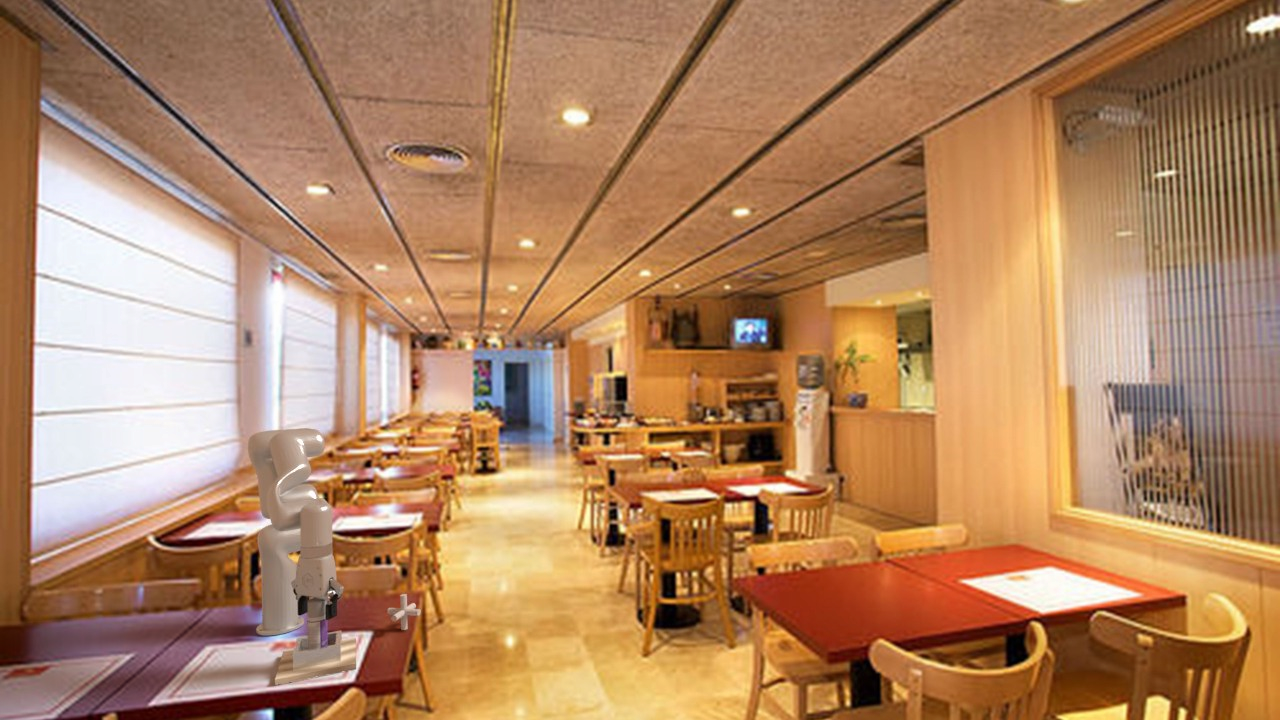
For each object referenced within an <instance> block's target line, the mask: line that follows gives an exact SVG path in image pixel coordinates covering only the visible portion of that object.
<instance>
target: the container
mask: <svg viewBox="0 0 1280 720" xmlns="http://www.w3.org/2000/svg"><path fill="white" fill-rule="evenodd" d="M326 604H327V602H326V600H325V599H324V597H321V598H316V597H311V598H309V600H308V610H307V613H306V614H307V616H306V617H307V618H306V619H307V637H308V649H314V648H319V647H324V646H328V633H329V632H328V620H326V617H325V606H326Z"/></svg>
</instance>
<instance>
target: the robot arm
mask: <svg viewBox="0 0 1280 720" xmlns="http://www.w3.org/2000/svg"><path fill="white" fill-rule="evenodd" d="M325 442H326V441H325V438H324V436H323V434H322V432H321V431H320V430H318V429H317V428H316V429H315V428H307V427H305V428H303V427H302V428H288V429H287V428H286V429H271V430H263V431H259V432H256V433H254V434H252V435H250V437H249V439H248V441H247V453H248V457H249V461H250V463H251V464H252V466H253V469H254V472H255V474H256V477H257V478H256V479H257V485H258V495H259V497H258V498H259V506H260V507H259V508H260V512H261V516H263V518H264V519H267V520H270V524H268V525H266V526H264V527H263V528H262V529H260V530H259V532H258V534H257V540H256V541H257V546H258V551H259V556H260V567H261V570H260V572H261V617H262V618H261V621H262V623H260V624H259V625H258V626H257V627H256V629H255V631H256V632H255V633H256V634H257V635H259V636H277V635H283V634H285V633H286V634H288V633H290V632H294V631H296V630H298V629H299V628H301V627H303V625H305V619H304V617H302V616H303V615H305V614H307V610H308V600H310V598H321V597H324V599H325V600H326V602H327V604H326V606H325V617H326V620H327V621H329V620H332V619H333V618H335V617H337V616H338V602H339V601H340V598H341V597H342V595H343V592H344V589H345V587H344V586H343V584H341V583H339V581H337V580H338V579H337V569H336V568H337V567H336V562H335V558H334V555H333V508H332V506H331V504H330V503H329V502H328V501H327V500H326V499H324V498H321V497H319V493H318V491H317V489H316V487H315V486H313V484H310V483H304V482H306V481H307V480H308V479H309V478H310V476H311V475H312V474H311V473H312V467H311V465H310V462H309V459H308V458H314V457H320V456H322V454H323V453H324V452H325V448H326V443H325ZM303 483H304V484H303ZM296 552H300V556H299V557H298V558H297V559H298V560H297V563H296V562H295V561H294V560H293V559H291V557H290V556H289V554H291V553H296ZM330 596H331V597H330Z"/></svg>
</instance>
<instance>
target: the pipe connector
mask: <svg viewBox="0 0 1280 720" xmlns="http://www.w3.org/2000/svg"><path fill="white" fill-rule="evenodd" d="M399 597H400V598H399V600H400V602H399V603H400V607H388V608H387V609H386V610H387V611H386V614H387V615H392V616H391V617H390V619H391V621H392V622H397V621H399V620H400V630H401V631H406V630H408V627H409V626H408V616H413V617H414V616H417V617H418V616H420V615H421V612H422V611H421V609H420V608H416V607H417V605H416V603H414V602H412V603H410V604H408V594H407V593H402V594H400V595H399Z"/></svg>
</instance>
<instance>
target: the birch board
mask: <svg viewBox="0 0 1280 720" xmlns="http://www.w3.org/2000/svg"><path fill="white" fill-rule="evenodd" d="M293 652H294V648H293V649H288V650H283V651H282V654H281V657H280V661H279V664H278V668H277V671H276V674H275V675H276V676H275V678H274V686H275V685H277V686H279V685H278V684H282V685H284V684H283V683H287V684H290V683H289V682H291V683H296V682H300V680H301V681H304V680H305V679H306V680H309V679H308V678H311V679H314V678H313V677H316V676H321V677H323V676H322V675H326V676H328V675H327V674H330V675H334V673H335V674H339V672H340V673H343V672H342V671H345V672H348V670H350V671H354V669H355V670H356V669H357V637H353V638H346V639H342V649H341V661H337V662H332V663H327V664H322V665H317V666H312V667H307V668H302V669H297V670H293ZM316 678H317V677H316Z"/></svg>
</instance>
